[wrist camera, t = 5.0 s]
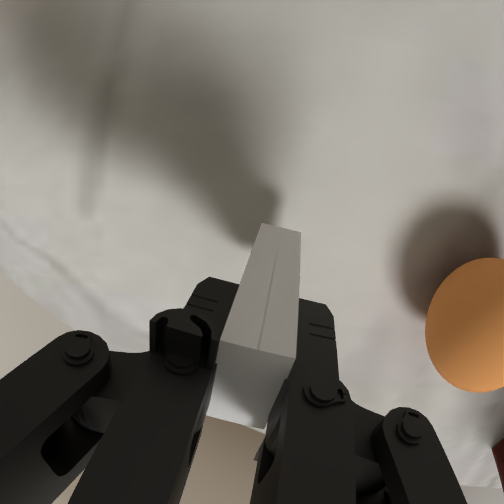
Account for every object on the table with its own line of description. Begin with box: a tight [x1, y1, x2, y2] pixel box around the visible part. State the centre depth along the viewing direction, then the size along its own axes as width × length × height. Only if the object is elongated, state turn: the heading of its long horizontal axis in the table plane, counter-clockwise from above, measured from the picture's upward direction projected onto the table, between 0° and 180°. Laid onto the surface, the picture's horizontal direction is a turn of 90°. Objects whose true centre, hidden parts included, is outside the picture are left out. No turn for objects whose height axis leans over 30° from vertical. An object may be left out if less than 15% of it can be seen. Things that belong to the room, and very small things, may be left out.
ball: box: [425, 258, 504, 392], centre depth 11 cm, size 6×6×6 cm
